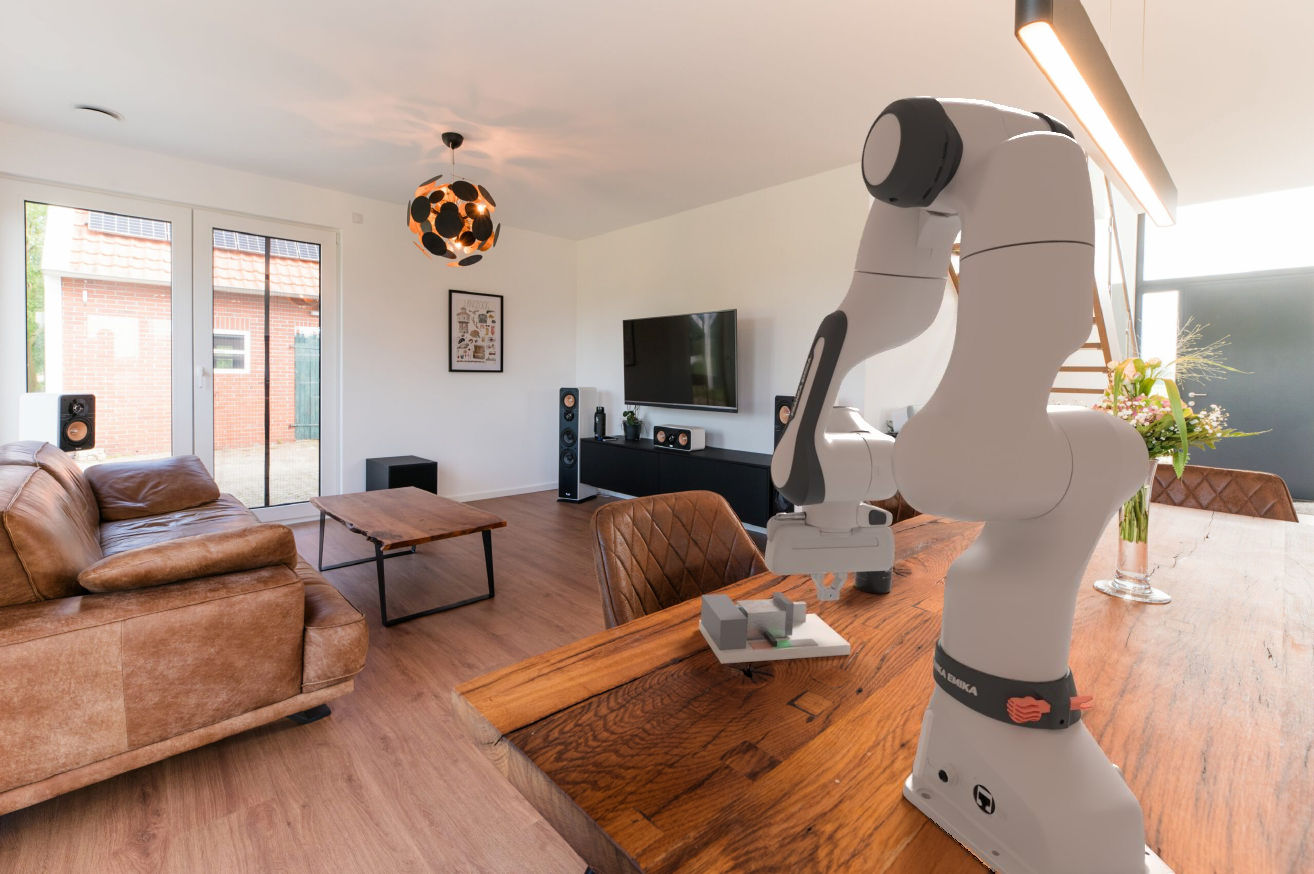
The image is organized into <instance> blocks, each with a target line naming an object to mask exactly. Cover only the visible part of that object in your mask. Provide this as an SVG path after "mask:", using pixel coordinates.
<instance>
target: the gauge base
mask: <svg viewBox="0 0 1314 874" xmlns="http://www.w3.org/2000/svg"><path fill="white" fill-rule="evenodd" d="M792 602H793V603H794V609H793V628H792V635H791V636H785V637H774V638H775V639H776V640H777V647H772V646H771V644H770V643H769V642H768V641H767V640H766V639H765V638H753V639H747V638H746V637H747V618H746V617H745V615H744V614H743V613H742V612H741V611H740V610H739V609H738V607H737V604H735V602H733V600H732V599H731V598H730V597H729V595H728V594H727V593H719V594H718V593H717V594H701V612H700V613H701V615H700V619H699V620H698V630H699V631H700V633H701V634H702V636H703V638H704V639H705V641H706V642H707V644H708V645H709V647H710V649H711V650H712V652H713V653H714V655H715V656H716V657H717V659H718V661H719V663H720V664H734V663H747V662H748V663H749V662H762V661H763V662H764V661H776V660H777V661H778V660H789V659H790V660H792V659H802V658H803V659H805V658H818V657H820V658H821V657H835V656H846V655H847V656H849V655H851V647H852V646H851V644H850V643H849V642H848V641H847V640H846V639H845V638H843V636H841V635H840V634H839V633H837V631H835V629H833V628H832V627H831V626H829V625H828V624H827V623H826V622H825V621H824V620H823V619H821V618H820V617H819V615H817V614H816V613H807V605H808V604H807V603H806V601H792Z"/></svg>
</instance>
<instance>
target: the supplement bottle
mask: <svg viewBox="0 0 1314 874" xmlns="http://www.w3.org/2000/svg"><path fill="white" fill-rule="evenodd" d="M893 566H894V564H893V565H892V567H891V568H890V569H889V570H887V571H863V572H854V586H855V587H856V589H858V590H860V591H862V592H865V593H868V594H875V595H876V594H878V595H879V594H882V595H883V594H888V593H889V592H890V591H891V588H892V581H893V580H892V579H893V568H894V567H893Z"/></svg>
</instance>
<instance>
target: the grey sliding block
mask: <svg viewBox="0 0 1314 874" xmlns="http://www.w3.org/2000/svg"><path fill="white" fill-rule="evenodd" d="M772 597H773V598H767V599H766V598H765V599H745V600H744V599H743V600H737V601H736V605H737V607H738V609H739V610H740V611H741V612H742V613H743V614H744V615H745V617H746V618H747V637H746V638H747V639H753V638H765V639H766V640H767V641H768V642H769V643H770V644H771V646H772V647H777V640H776V639H775V638H774V637H785V636H791V635H792V628H793V609H794V603H793V602H794V601H791V599H789V598H788V597H787V595H785V594H784V593H783V592H781V591H773V596H772Z"/></svg>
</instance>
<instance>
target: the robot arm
mask: <svg viewBox="0 0 1314 874" xmlns="http://www.w3.org/2000/svg"><path fill="white" fill-rule="evenodd" d="M860 167H861V175H862V179H863V182H864V184H865V186H866V187H865V188H866V189H867V191H868V193H869V195H870V196H871V197H873V198H874V199H873V201H872V205H871V207H870V210H869V212H868V215H867V219H866V221H865V224H864V228H863V230H862V235H861V239H860V240H859V241H860V242H859V246H858V250H857V254H856V260H855V265H854V272H853V276H852V278H851V279H852V280H851V283H850V285H849V288H848V290H847V292H846V294H845V296H844V298H843V300H842V301H841V303H840V305H839V306H838V307H837V308H836V310H835V311H833V312H831V313H830V314H828V315H826V316H825V317H824V318H823V319H822V321H821V322H820V324H819V326H818V329H817V331H816V334H815V336H814V337H813V341H812V343H811V346H810V349H809V352H808V354H807V358H806V361H805V364H804V367H803V370H802V374H801V377H800V380H799V382H798V385H797V389H796V393H795V396H794V399H793V402H792V405H791V408H790V411H789V414H788V418H787V421H786V423H785V426H784V428H783V431H782V433H781V435H780V436H779V438H778V441H777V443H776V444H775V447H774V450H773V452H772V456H771V462H770V478H771V479H770V480H771V482H772V484H773V486H774V488H775V489H776V490H777V491H778V492H779V494H780V495H781V496H782V497H783V498H784V499H785V500H787V501H789V502H790V503H791V504H792V505H794V506H796V507H801V511H798V512H797V511H796V512H795V511H794V512H788V513H787V512H777V513H776V515H774V516H771V517H770V518H769V520H768V521H767V522H766V537H767V541H766V547H765V553H764V565H765V566H766V568H767V569H768V570H769V571H770V572H771V573H772V574H774V575H776V576H786V575H787V576H789V575H809V574H810V577H811V579H812V581H813V583H814V585H815V587H816V597H817V600H819V601H821V602H824V601H838V600H840V590H841V589H842V587H844V585H845V584H846V581H847V580H848V573H855V572H863V571H887V570H889V569H890V568H891V567H892V565H893V566H894V563H895V553H896V552H895V535H894V532H893V530H892V528H891V527H889V526H891V525H892V522H893V514H892V513H891V512H890V511H889V510H886V509H883V508H881V507H878V506H875V505H872V504H871V503H869V502H871V501H872V502H873V501H874V502H879V501H883V500H887V499H893V498H894V497H895V496H897V494H898V493H900V496H901V497H902V498H903V500H904V501H905V502H906V504H907V505H908V506H910V507H911V508H912V509H914V510H915V511H916V512H918V513H920V514H924V515H928V516H932V517H937V518H941V519H945V520H946V519H947V520H951V521H953V520H954V521H958V522H965V523H977V522H982V523H983V522H985V523H984V525H983V527H982V529H981V530H980V532H979V534H978V536H977V537H976V539H974V541H973V542H972V543H971V545H970V546H969V547H967V549H966V550H964V551H963V552H962V553H960V555H958V556H957V557H956V558H955V559H954V560H953V561H952V562H951V564H950V566H949V567H948V569H947V571H946V575H945V579H944V591H943V604H942V617H941V618H942V619H941V627H940V629H941V630H940V637H939V638H938V639H937V640H936V642H935V646H934V647H935V649H934V652H933V656H932V664H933V668H932V676H933V677H932V678H933V680H934V681H935V683H934V684H935V685H934V689H933V692H932V694H931V697H930V699H929V701H928V702H929V703H928V704H927V707H926V708H925V711H924V714H923V717H922V718H923V719H922V722H921V728H920V732H919V738H918V742H917V747H916V749H917V750H916V754H915V758H914V760H913V762H912V763H913V764H912V772H911V773H910V774H909V775H908V777H907V778H906V779H905V781H904V783H903V789H902V794H903V796H904V797H905V798H906V800H907V801H909V802H910V803H911V804H912V805H913V806H915V807H916V808H917V809H918V810H919V811H920V812H921V813H923V814H924V815H925V816H927V817H928V818H929V819H930V818H931V819H932V820H933V821H935V822H934V823H935V824H936V823H937V824H938V825H939V826H940V827H939V826H938V825H937V824H936V825H937V826H938V827H939V828H941V827H942V828H943V829H944V830H945V831H946V832H947V833H946V832H945V831H944V830H943V829H942V828H941V829H942V830H943V831H944V832H945V833H946V834H948V833H949V834H950V835H952V836H953V837H954V838H955V839H957V840H958V841H960V842H962V843H963V844H964V845H965V846H967V848H969V849H971V851H972V852H973V853H975V854H976V855H977V856H978V857H979V858H981V860H983V862H985V863H986V864H987V865H988V866H990V867H991V868H993V869H995V871H997V872H999V873H1001V874H1176V873H1175V871H1173V870H1172V869H1171V868H1170V867H1169V866H1168V864H1166V862H1164V861H1163V859H1162V858H1161V857H1159V856H1158V855H1157V854H1156V853H1155V852H1154V851H1153V850H1152V849H1151V848H1150V847H1149V846H1148V845H1147V844H1146V834H1145V832H1146V831H1145V830H1146V829H1145V821H1144V815H1143V810H1142V806H1141V804H1140V802H1139V800H1138V798H1137V796H1136V795H1135V794H1134V793H1133V791H1132V790H1131V788H1130V787H1129V786H1128V784H1127V783H1126V778H1125V776H1124V773H1123V771H1122V770H1121V768H1120V767H1119V766H1118V765H1117V764H1115V763H1113V762H1111V761H1110V759H1109V758H1108V756H1107V755H1106V754H1105V752H1104V751H1103V749H1102V748H1101V747H1100V745H1099V744H1098V741H1096V740H1095V737H1094V736H1093V735H1092V733H1091V732H1090V731H1089V729H1088V728H1087V726H1086V725H1085V724H1084V722H1083V720H1082V719H1081V718H1082V710H1086V709H1092V708H1093V705H1091V704H1086V703H1088V702H1090V701H1092V700H1094V696H1093V695H1083V696H1082V695H1081V696H1078V692H1077V688H1076V684H1075V679H1074V675H1073V672H1072V669H1071V668H1070V666H1069V665H1068V664H1069V657H1070V651H1071V650H1070V649H1071V641H1072V633H1073V627H1074V619H1075V612H1076V605H1077V599H1078V595H1079V590H1080V588H1081V584H1082V581H1083V578H1084V575H1085V573H1086V570H1087V568H1088V566H1089V563H1090V561H1091V559H1092V557H1093V554H1094V553H1095V550H1096V548H1097V546H1098V544H1099V542H1100V540H1101V538H1102V537H1103V534H1104V533H1105V531H1106V529H1107V527H1108V525H1110V524H1109V523H1110V522H1111V521H1112V519H1113V517H1114V516H1115V515H1116V514H1117V513H1118V511H1119V510H1120V509H1121V508H1122V507H1123V506H1124V505H1125V504H1126V503H1127V502H1129V500H1131V499H1132V498H1133V497H1134V496H1135V495H1137V493H1138V492H1139V491H1140V490H1141V489H1142V487H1143V486H1144V484H1145V482H1146V480H1147V478H1148V474H1149V470H1150V453H1149V449H1148V446H1147V444H1146V441H1145V439H1144V438H1143V436H1142V435H1141V433H1140V432H1139V431H1138V430H1137V428H1136V427H1135V426H1133V424H1131V423H1130V422H1128V421H1127V420H1125V419H1123V418H1121V417H1120V416H1116V415H1113V414H1110V413H1108V412H1105V411H1100V410H1098V409H1094V408H1091V407H1090V408H1089V407H1087V406H1082V405H1075V404H1049V398H1050V394H1051V392H1052V388H1053V385H1054V382H1055V380H1056V377H1057V376H1058V373H1059V371H1060V370H1061V368H1062V366H1063V364H1064V363H1065V362H1066V361H1067V359H1068V358H1070V357H1071V355H1073V354H1075V353H1076V352H1077V351H1079V350H1080V349H1081V348H1082V347H1084V345H1085V344H1086V343H1087V341H1088V340H1089V338H1090V336H1091V333H1092V330H1093V327H1094V326H1093V325H1094V322H1093V321H1094V297H1095V295H1094V291H1095V288H1094V287H1095V256H1096V255H1095V254H1096V250H1095V249H1096V224H1095V220H1096V219H1095V207H1094V198H1093V197H1094V196H1093V190H1092V184H1091V183H1092V182H1091V177H1090V172H1089V167H1088V163H1087V158H1086V155H1085V152H1084V149H1083V148H1082V146H1081V145H1080V144H1079V143H1078V142H1077V140H1076V139H1075V136H1074V134H1073V132H1072V129H1071V128H1070V127H1068V126H1067V125H1066V124H1065V123H1064V122H1062V121H1060V120H1058V119H1057V118H1055V117H1053V116H1051V115H1048V114H1045V113H1043V112H1039V111H1031V112H1029V111H1028V112H1027V111H1024V110H1021V109H1017V108H1013V107H1008V106H1005V105H1000V104H994V103H992V102H989V101H987V100H986V101H985V100H978V99H977V100H976V99H969V98H968V99H966V98H935V97H934V96H931V95H919V96H918V95H917V96H911V97H905V98H901V99H897V100H894V101H892V102H891V103H890V104H889V103H888V105H887V106H886V107H884V109H883V110H882V111H881V112H880V113H879V115H878V116H877V117H876V118H875V120H874V122H873V123H872V124H871V126H870V128H869V130H868V133H867V136H866V138H865V141H864V145H863V148H862V154H861V165H860ZM959 233H960V239H959V241H960V243H959V258H958V259H959V260H958V261H959V263H958V264H959V265H958V267H959V268H958V291H957V292H958V293H957V308H956V309H957V311H956V322H955V323H956V325H955V335H954V340H953V347H952V350H951V354H950V358H949V360H948V363H947V365H946V368H945V371H944V372H943V376H942V377H941V379H940V381H939V383H938V385H937V387H936V389H935V390H934V392H933V394H932V395H931V396H930V398H929V399H928V401H927V402H926V403H925V404H924V405H923V406H922V408H920V409H919V410H918V411H917V412H916V413H915V414H914V415H912V416H911V417H910V418H908V420H907V421H906V422H905V423H904V424H903V425H902V426H901V428H900V429H899V431H898V433H897V435H896V437H894V436H892V435H891V434H887V433H883V432H882V431H880V430H878V429H877V428H874V427H873V426H872V425H871V424H870V423H869V422H867V420H866V418H865V417H864V416H865V415H864V413H863V412H862V410H861V409H860V408H857V407H854V406H851V405H850V406H849V405H835V403H836V400H837V397H838V394H839V392H840V391H839V390H840V388H841V385H842V382H843V381H844V379H845V378H846V376H847V375H848V374H849V372H850V371H852V369H853V368H855V367H856V366H858V365H859V364H861V363H862V362H864V361H865V360H867V359H870V358H872V357H874V356H876V355H879V354H882V353H885V352H887V351H890V350H893V349H897V348H899V347H902V346H903V345H906V344H908V343H910V342H911V341H913V340H916V338H918V337H919V336H921V335H923V334H924V333H925V331H927V330H928V329H929V328H930V327H931V326H932V324H934V322H935V320H936V318H937V316H938V315H939V312H940V310H941V306H942V303H943V300H944V295H945V290H946V284H947V280H948V279H947V278H948V277H949V276H948V275H949V272H950V271H949V270H950V266H951V265H950V264H951V259H952V253H953V247H954V244H955V240H956V238H957V236H958V234H959ZM826 574H832V575H833V576H834V578H833V580H832V582H831V584H830V585H829V586H828V585H827V586H825V585H824V583H823V581H824V580H826ZM931 819H930V820H931ZM932 820H931V821H932ZM933 821H932V822H933ZM949 834H948V835H949ZM950 835H949V836H950ZM955 839H954V840H955Z"/></svg>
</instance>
